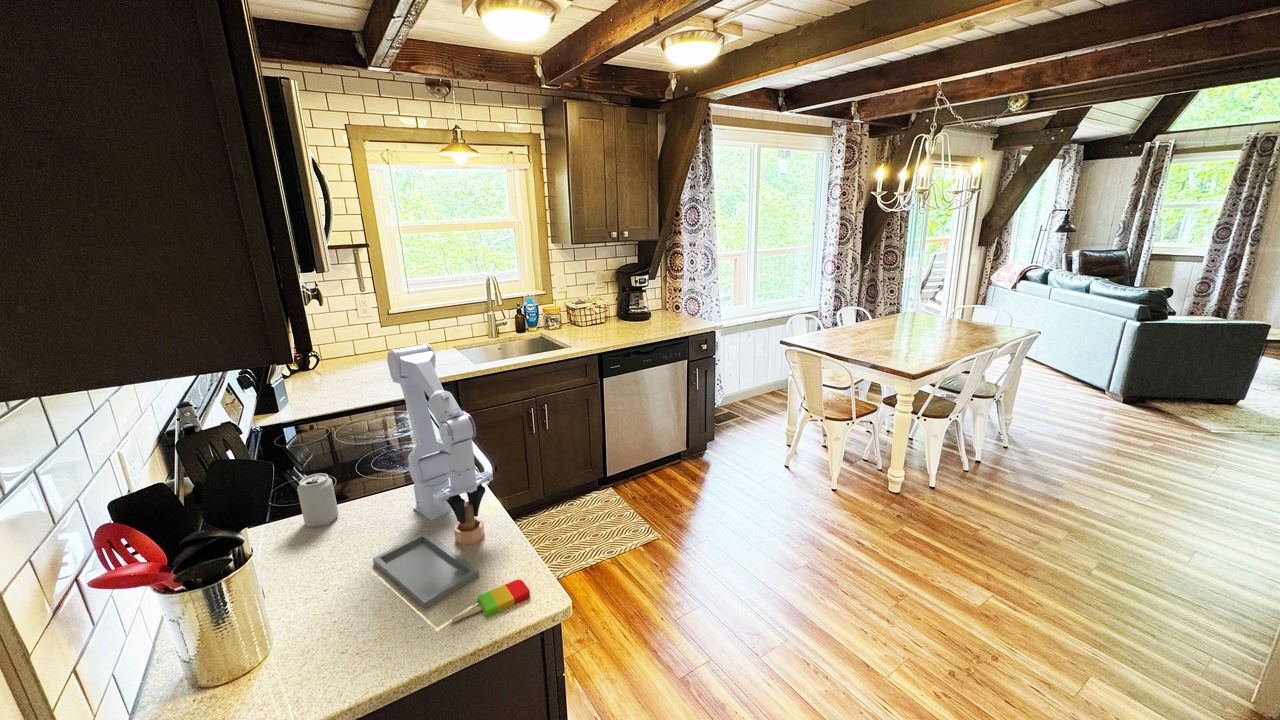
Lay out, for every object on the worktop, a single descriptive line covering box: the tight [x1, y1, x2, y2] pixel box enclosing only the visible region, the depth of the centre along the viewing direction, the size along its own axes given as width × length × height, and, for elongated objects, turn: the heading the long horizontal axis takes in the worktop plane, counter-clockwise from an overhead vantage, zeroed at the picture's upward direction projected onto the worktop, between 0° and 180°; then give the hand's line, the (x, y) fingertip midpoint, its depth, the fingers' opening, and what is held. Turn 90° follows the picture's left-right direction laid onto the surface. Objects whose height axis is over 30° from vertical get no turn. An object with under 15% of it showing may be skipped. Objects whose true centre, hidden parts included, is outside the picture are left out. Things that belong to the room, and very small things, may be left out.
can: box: [296, 472, 339, 528], centre depth 128 cm, size 8×8×12 cm
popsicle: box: [451, 579, 531, 624], centre depth 99 cm, size 6×15×2 cm, turn 125°
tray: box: [372, 532, 480, 610], centre depth 109 cm, size 22×12×2 cm, turn 51°
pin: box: [462, 501, 476, 532], centre depth 120 cm, size 3×3×8 cm
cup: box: [453, 517, 485, 546], centre depth 120 cm, size 6×6×4 cm
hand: (467, 518), depth 120 cm, fingers closed on pin, 3 cm apart
